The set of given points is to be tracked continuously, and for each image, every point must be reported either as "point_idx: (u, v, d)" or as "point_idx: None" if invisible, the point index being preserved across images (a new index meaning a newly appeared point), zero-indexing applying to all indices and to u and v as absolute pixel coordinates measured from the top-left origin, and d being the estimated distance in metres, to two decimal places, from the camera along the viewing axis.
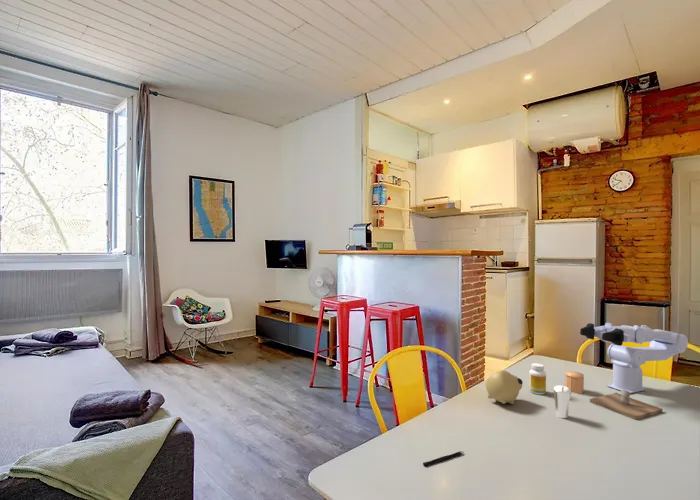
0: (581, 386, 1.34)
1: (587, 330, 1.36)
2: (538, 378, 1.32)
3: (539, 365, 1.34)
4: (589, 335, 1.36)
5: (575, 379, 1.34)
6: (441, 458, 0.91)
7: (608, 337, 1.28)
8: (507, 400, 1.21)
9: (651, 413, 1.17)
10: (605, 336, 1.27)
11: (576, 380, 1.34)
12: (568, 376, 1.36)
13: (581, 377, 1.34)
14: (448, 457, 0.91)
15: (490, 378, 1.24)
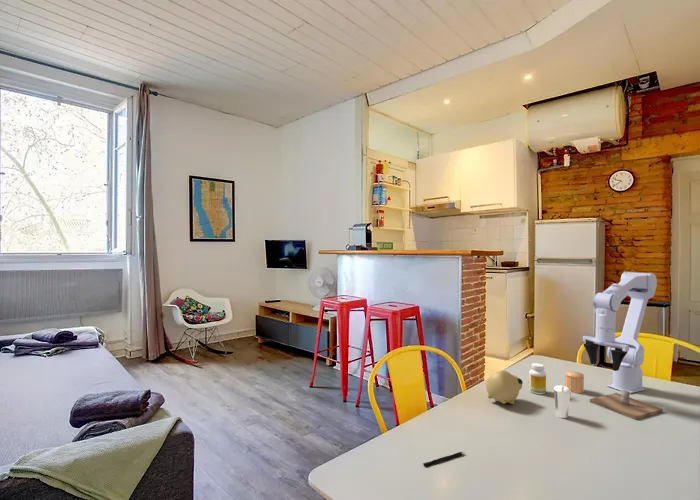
0: (581, 386, 1.34)
1: (593, 355, 1.34)
2: (538, 378, 1.32)
3: (539, 365, 1.34)
4: (596, 351, 1.35)
5: (575, 379, 1.34)
6: (441, 458, 0.91)
7: (618, 365, 1.27)
8: (507, 400, 1.21)
9: (651, 413, 1.17)
10: (616, 369, 1.27)
11: (576, 380, 1.34)
12: (568, 376, 1.36)
13: (581, 377, 1.34)
14: (449, 458, 0.91)
15: (490, 378, 1.24)
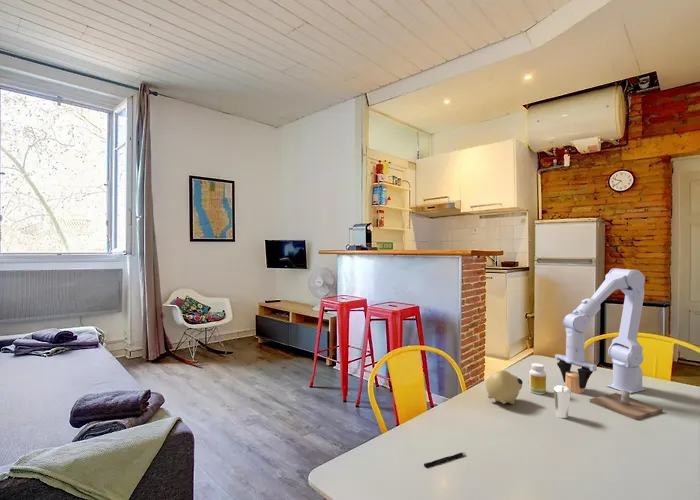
0: None
1: None
2: (538, 378, 1.32)
3: (539, 365, 1.34)
4: (569, 369, 1.40)
5: (575, 379, 1.34)
6: (442, 459, 0.90)
7: (584, 383, 1.34)
8: (507, 400, 1.21)
9: (651, 413, 1.17)
10: (583, 386, 1.33)
11: (576, 380, 1.34)
12: (568, 376, 1.36)
13: None
14: (449, 458, 0.91)
15: (490, 378, 1.24)
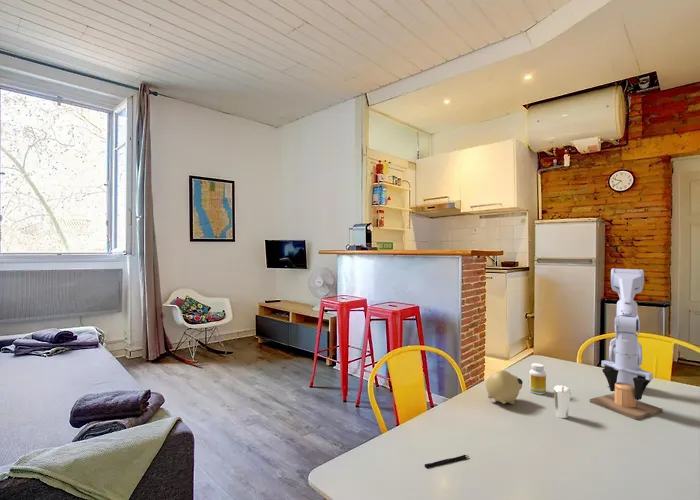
0: (634, 399, 1.20)
1: (612, 381, 1.26)
2: (538, 378, 1.32)
3: (539, 365, 1.34)
4: (616, 377, 1.27)
5: (627, 392, 1.20)
6: (444, 460, 0.90)
7: (640, 393, 1.19)
8: (507, 400, 1.21)
9: (651, 413, 1.17)
10: (639, 398, 1.19)
11: (628, 392, 1.20)
12: (618, 388, 1.22)
13: (634, 389, 1.20)
14: (452, 460, 0.90)
15: (490, 378, 1.24)
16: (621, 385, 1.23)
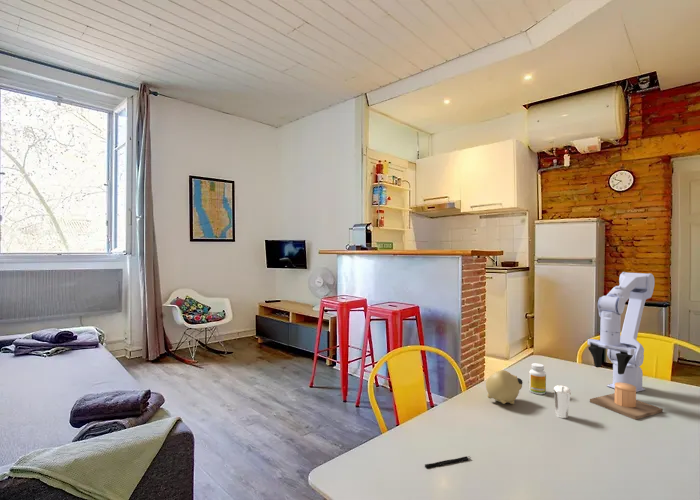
0: (634, 399, 1.20)
1: (597, 358, 1.34)
2: (538, 378, 1.32)
3: (539, 365, 1.34)
4: (601, 354, 1.34)
5: (627, 392, 1.20)
6: (444, 461, 0.89)
7: (623, 368, 1.27)
8: (507, 400, 1.21)
9: (651, 413, 1.17)
10: (622, 372, 1.27)
11: (628, 392, 1.20)
12: (618, 388, 1.22)
13: (634, 389, 1.20)
14: (453, 461, 0.90)
15: (490, 378, 1.24)
16: (621, 385, 1.23)
